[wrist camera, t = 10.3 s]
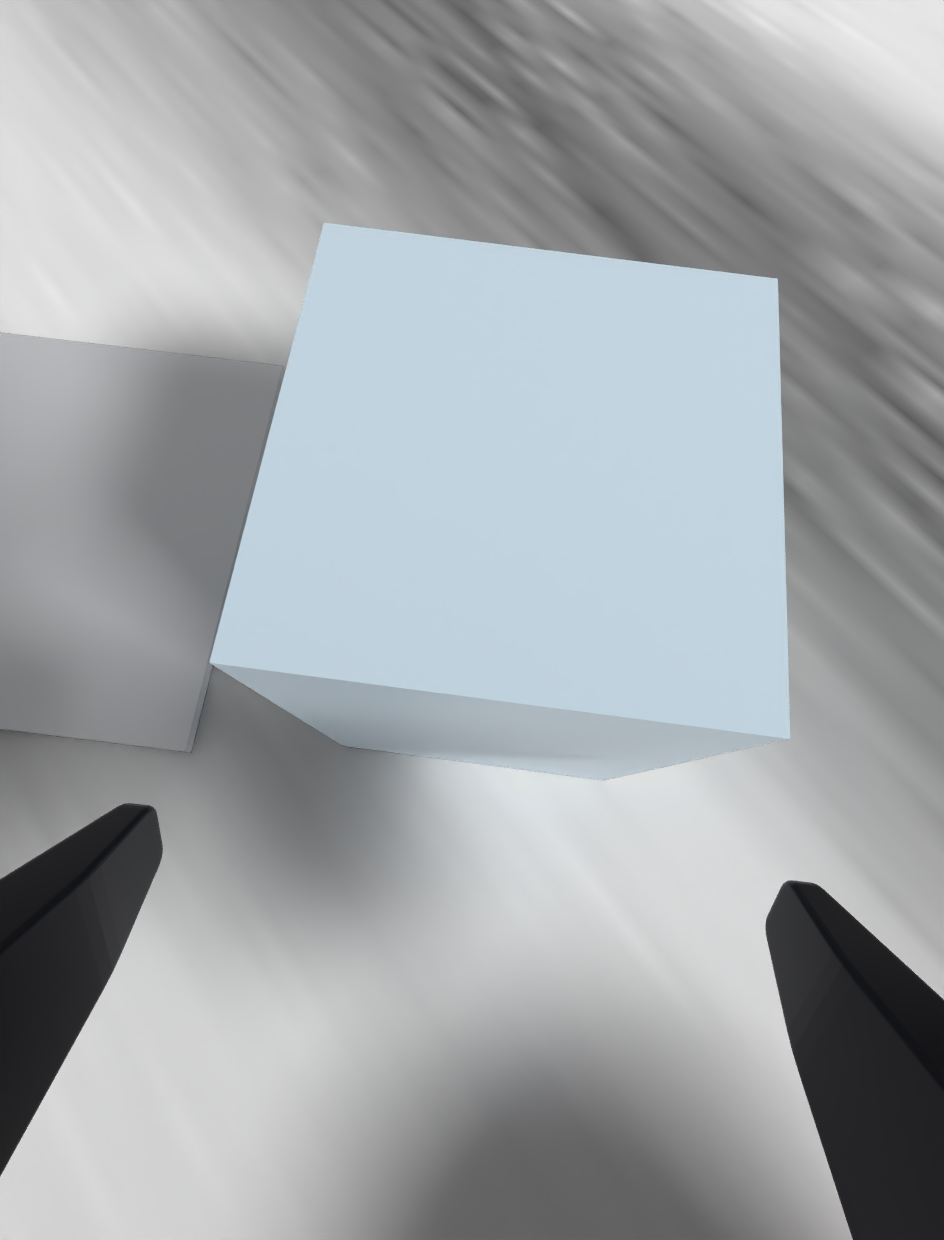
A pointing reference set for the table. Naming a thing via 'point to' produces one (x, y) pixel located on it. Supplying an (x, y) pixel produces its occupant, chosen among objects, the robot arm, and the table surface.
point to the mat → (120, 531)
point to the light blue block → (520, 510)
